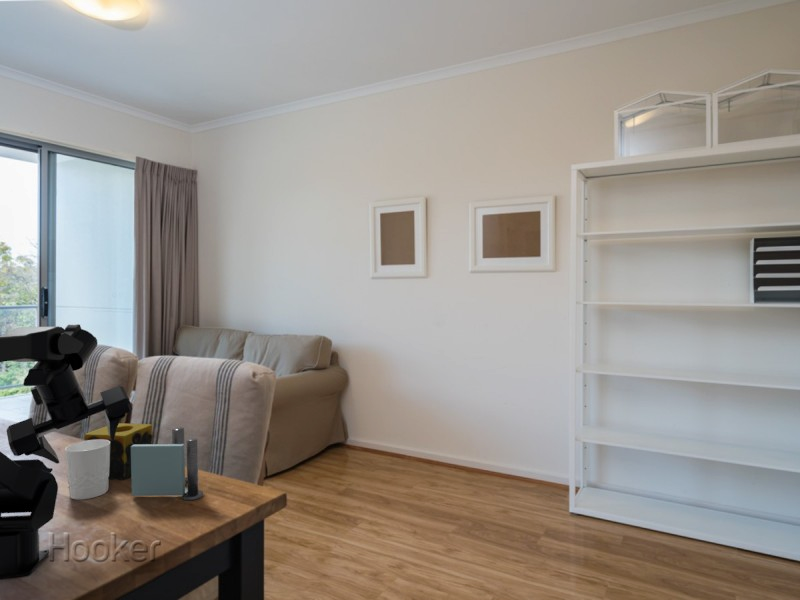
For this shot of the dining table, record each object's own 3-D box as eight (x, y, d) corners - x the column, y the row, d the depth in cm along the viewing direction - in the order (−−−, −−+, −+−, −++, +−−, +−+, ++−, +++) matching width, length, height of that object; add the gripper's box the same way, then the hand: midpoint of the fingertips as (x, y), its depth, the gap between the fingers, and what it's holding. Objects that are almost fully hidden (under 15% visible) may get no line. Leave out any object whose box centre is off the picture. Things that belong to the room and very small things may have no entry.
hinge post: (201, 499, 99) (200, 442, 99) (180, 501, 98) (179, 443, 98) (205, 491, 103) (204, 436, 103) (184, 493, 102) (183, 437, 102)
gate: (185, 492, 101) (184, 444, 101) (182, 495, 100) (181, 445, 100) (134, 493, 101) (133, 444, 101) (131, 495, 100) (130, 446, 100)
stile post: (185, 483, 108) (184, 430, 107) (169, 484, 107) (168, 431, 107) (188, 478, 111) (187, 426, 110) (172, 479, 110) (172, 427, 110)
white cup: (90, 502, 98) (89, 452, 98) (56, 499, 100) (55, 450, 100) (120, 487, 106) (119, 440, 106) (88, 484, 108) (87, 438, 107)
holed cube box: (82, 479, 111) (81, 434, 110) (114, 463, 121) (114, 422, 120) (124, 481, 109) (123, 436, 109) (153, 465, 119) (152, 423, 119)
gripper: (107, 346, 97) (127, 405, 105) (-11, 384, 87) (22, 446, 95) (121, 377, 90) (142, 437, 98) (-5, 422, 80) (30, 485, 88)
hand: (85, 450), depth 95 cm, fingers open, 9 cm apart
